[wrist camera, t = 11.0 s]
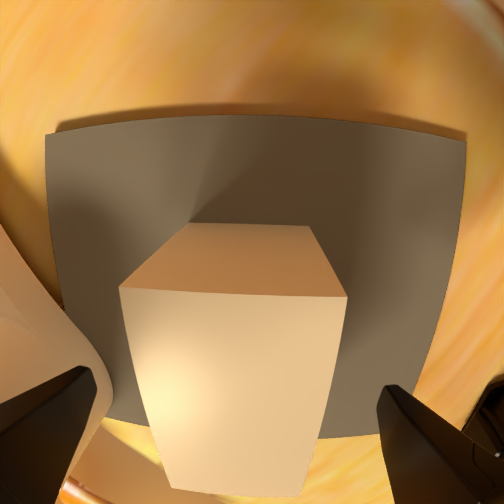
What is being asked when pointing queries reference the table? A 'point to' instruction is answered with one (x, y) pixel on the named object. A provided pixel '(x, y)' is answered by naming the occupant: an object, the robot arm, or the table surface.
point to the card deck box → (235, 354)
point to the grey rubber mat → (270, 213)
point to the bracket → (42, 341)
